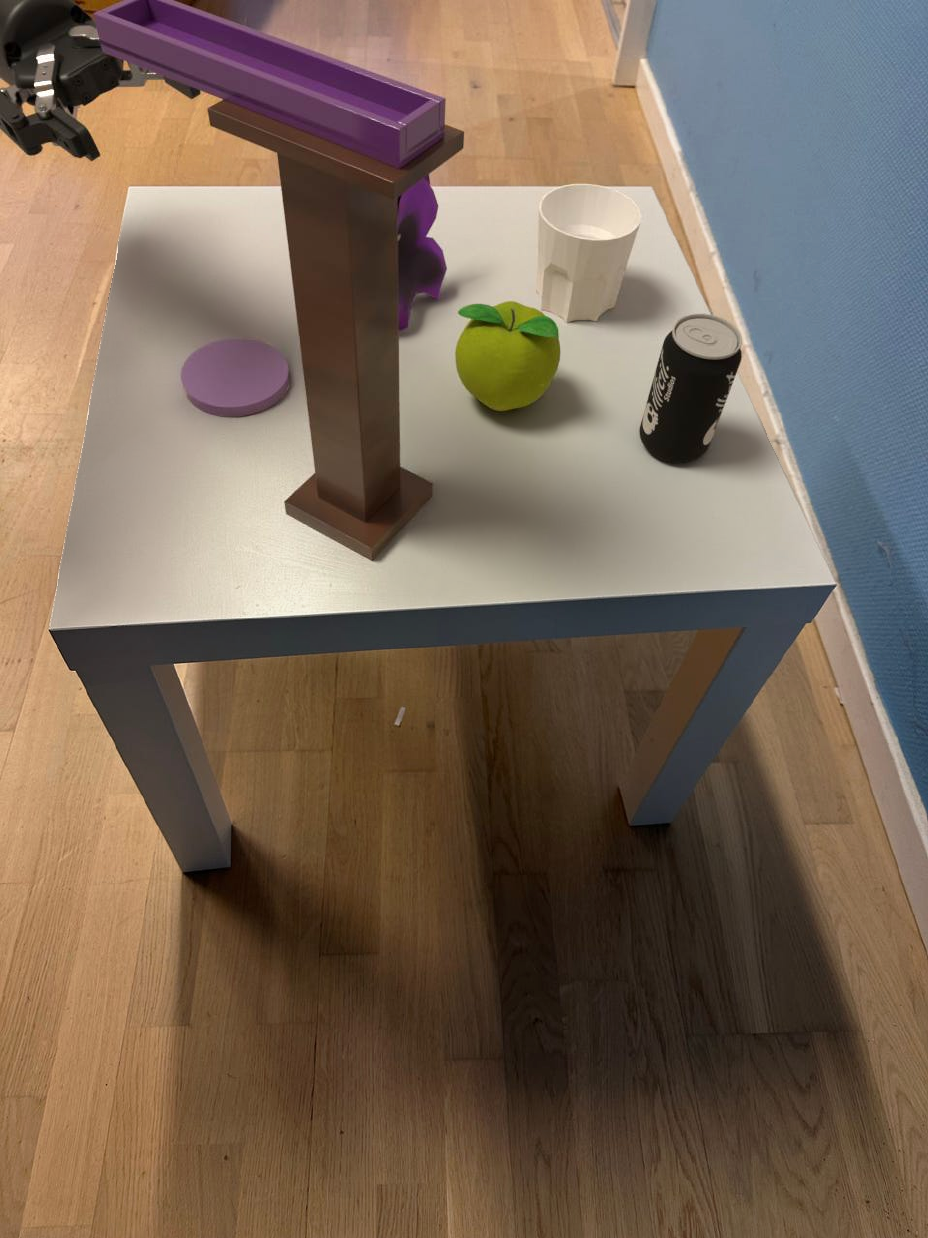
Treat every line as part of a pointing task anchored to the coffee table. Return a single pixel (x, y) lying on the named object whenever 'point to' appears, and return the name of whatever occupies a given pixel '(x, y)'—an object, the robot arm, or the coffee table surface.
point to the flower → (417, 248)
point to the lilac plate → (235, 377)
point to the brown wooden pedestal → (346, 323)
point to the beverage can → (690, 387)
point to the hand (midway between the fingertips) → (143, 113)
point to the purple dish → (275, 78)
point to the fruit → (507, 354)
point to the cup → (583, 249)
